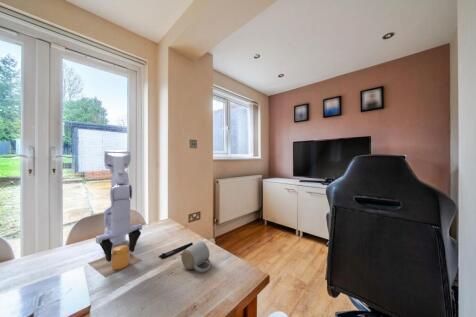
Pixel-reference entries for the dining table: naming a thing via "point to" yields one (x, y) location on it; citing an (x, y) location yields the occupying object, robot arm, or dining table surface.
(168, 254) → the electric trimmer
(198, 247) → the ceramic mug
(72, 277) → the dining table surface
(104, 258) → the board
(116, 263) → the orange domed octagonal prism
